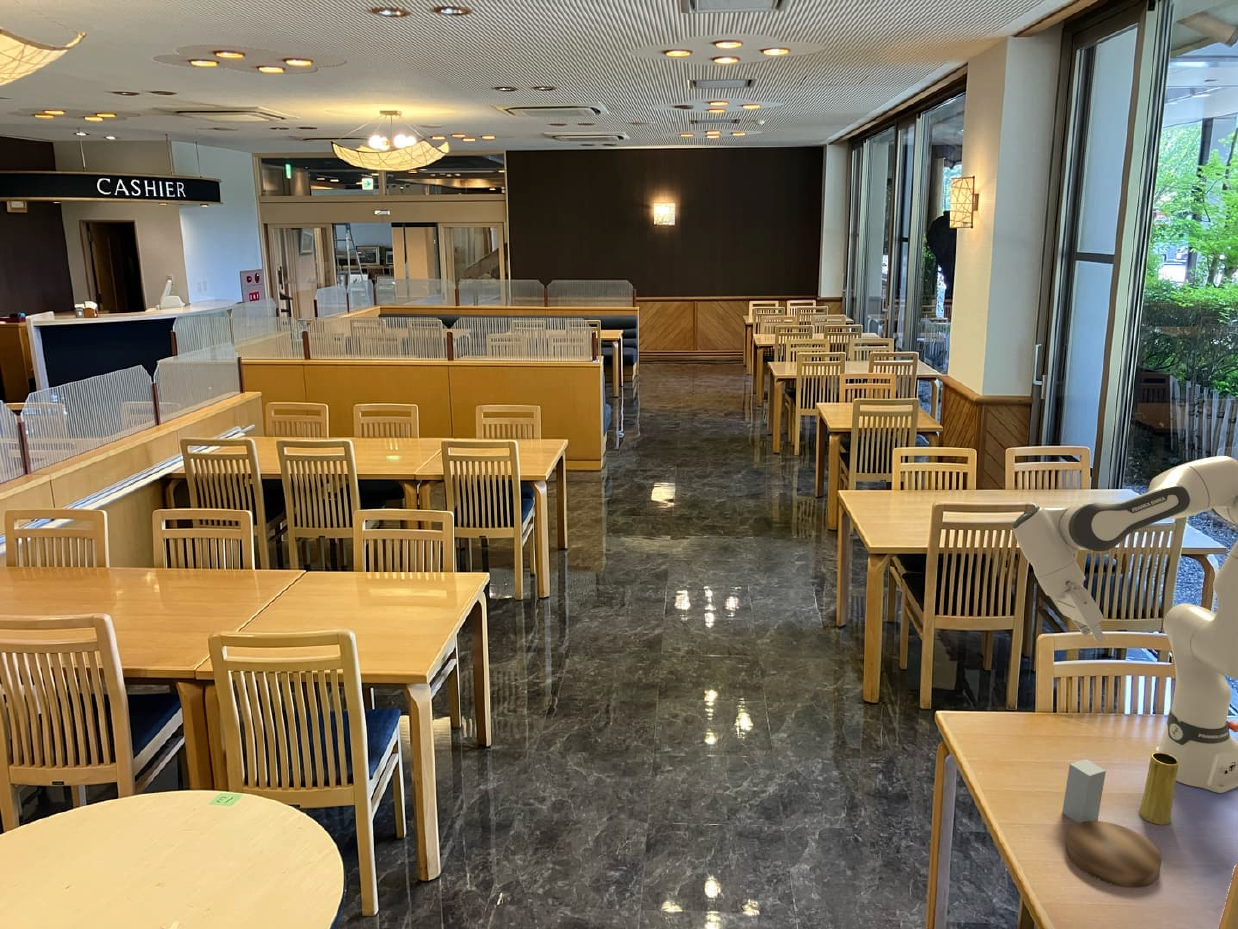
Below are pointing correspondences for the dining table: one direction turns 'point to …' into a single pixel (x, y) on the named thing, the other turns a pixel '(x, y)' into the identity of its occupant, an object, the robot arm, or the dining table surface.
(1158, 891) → the dining table surface
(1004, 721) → the dining table surface
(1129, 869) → the walnut base
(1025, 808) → the dining table surface
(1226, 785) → the robot arm
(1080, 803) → the gray block
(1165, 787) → the vase
